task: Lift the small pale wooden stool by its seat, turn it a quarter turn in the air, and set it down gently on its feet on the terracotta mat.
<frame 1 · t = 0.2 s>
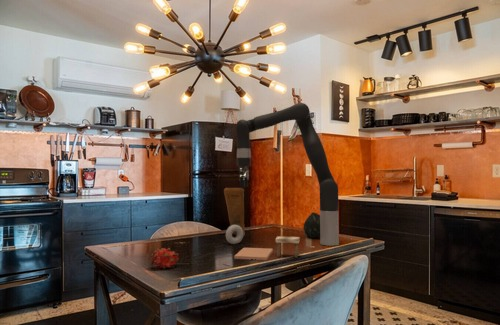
hand: (244, 187, 199), 29 cm above the table, tool pointing down, fingers open, 8 cm apart
squash: (316, 237, 210), on the table
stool: (287, 256, 163), on the table
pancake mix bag: (235, 234, 223), on the table
mat: (254, 254, 166), on the table
donut: (234, 244, 192), on the table
dragon fruit: (165, 268, 145), on the table
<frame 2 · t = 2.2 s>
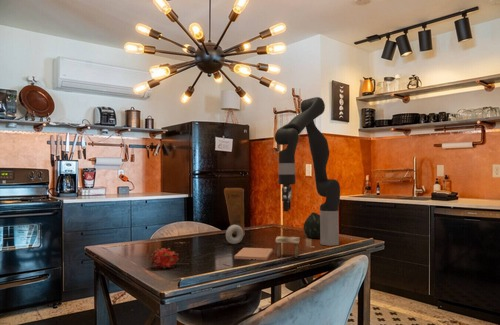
hand: (287, 210, 164), 20 cm above the table, tool pointing down, fingers open, 8 cm apart
nothing on the table moved.
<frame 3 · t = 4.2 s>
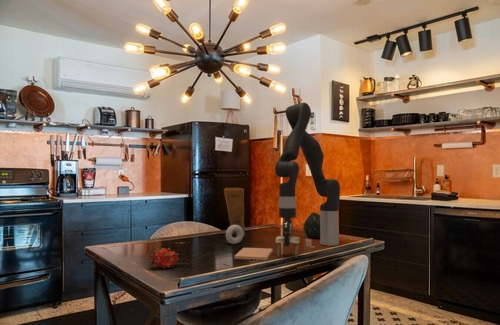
hand: (287, 244, 163), 5 cm above the table, tool pointing down, fingers closed on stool, 6 cm apart
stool: (287, 256, 163), on the table, touching gripper
everything else where it was.
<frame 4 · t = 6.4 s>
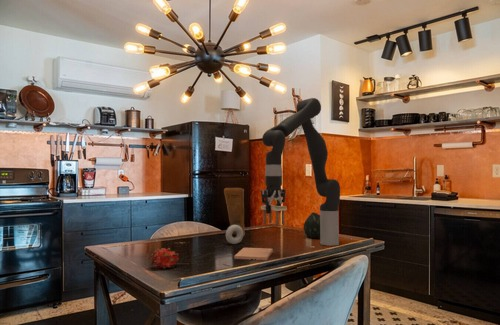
hand: (273, 212, 165), 19 cm above the table, tool pointing down, fingers closed on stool, 6 cm apart
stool: (273, 224, 165), point 14 cm above the table, touching gripper
everything else where it was.
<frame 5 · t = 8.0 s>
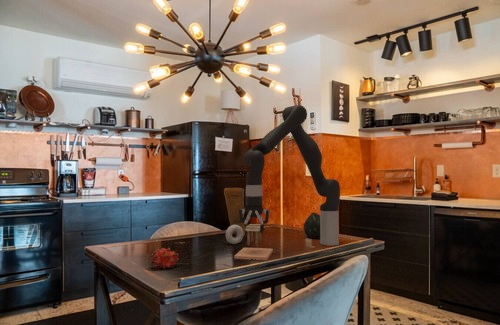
hand: (254, 232, 167), 10 cm above the table, tool pointing down, fingers closed on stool, 6 cm apart
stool: (254, 243, 166), point 5 cm above the table, touching gripper
everything else where it was.
when the fingers open (7 cm above the table, at t = 9.1 s): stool stays where it is, resting on mat.
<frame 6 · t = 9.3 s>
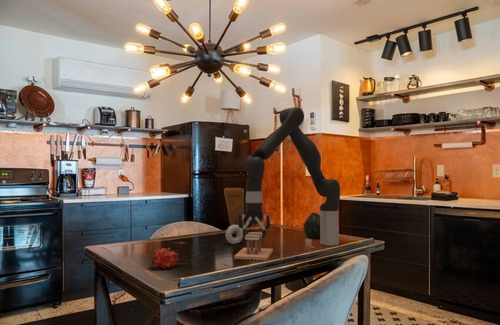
hand: (254, 237, 166), 8 cm above the table, tool pointing down, fingers open, 8 cm apart
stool: (254, 252, 166), point 1 cm above the table, touching mat
everything else where it was.
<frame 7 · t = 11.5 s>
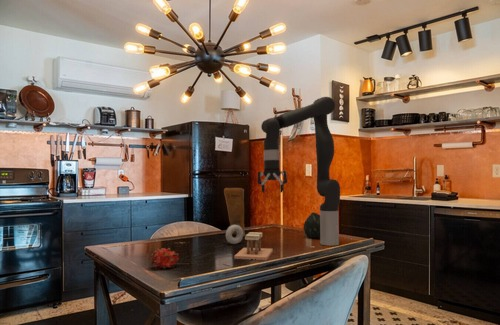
hand: (272, 192, 181), 27 cm above the table, tool pointing down, fingers open, 8 cm apart
nothing on the table moved.
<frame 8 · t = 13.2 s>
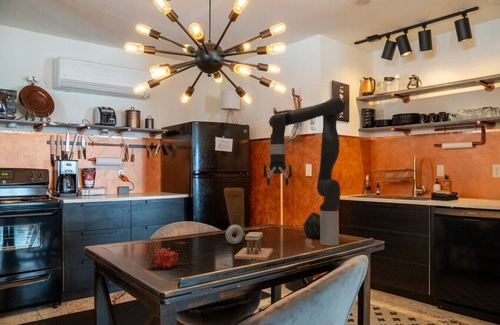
hand: (277, 185, 186), 30 cm above the table, tool pointing down, fingers open, 8 cm apart
nothing on the table moved.
at the end: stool inside the target area on the mat (0.2 cm from its centre), point 1.2 cm above the mat's base; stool tilted 0°; the gripper is holding nothing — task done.
